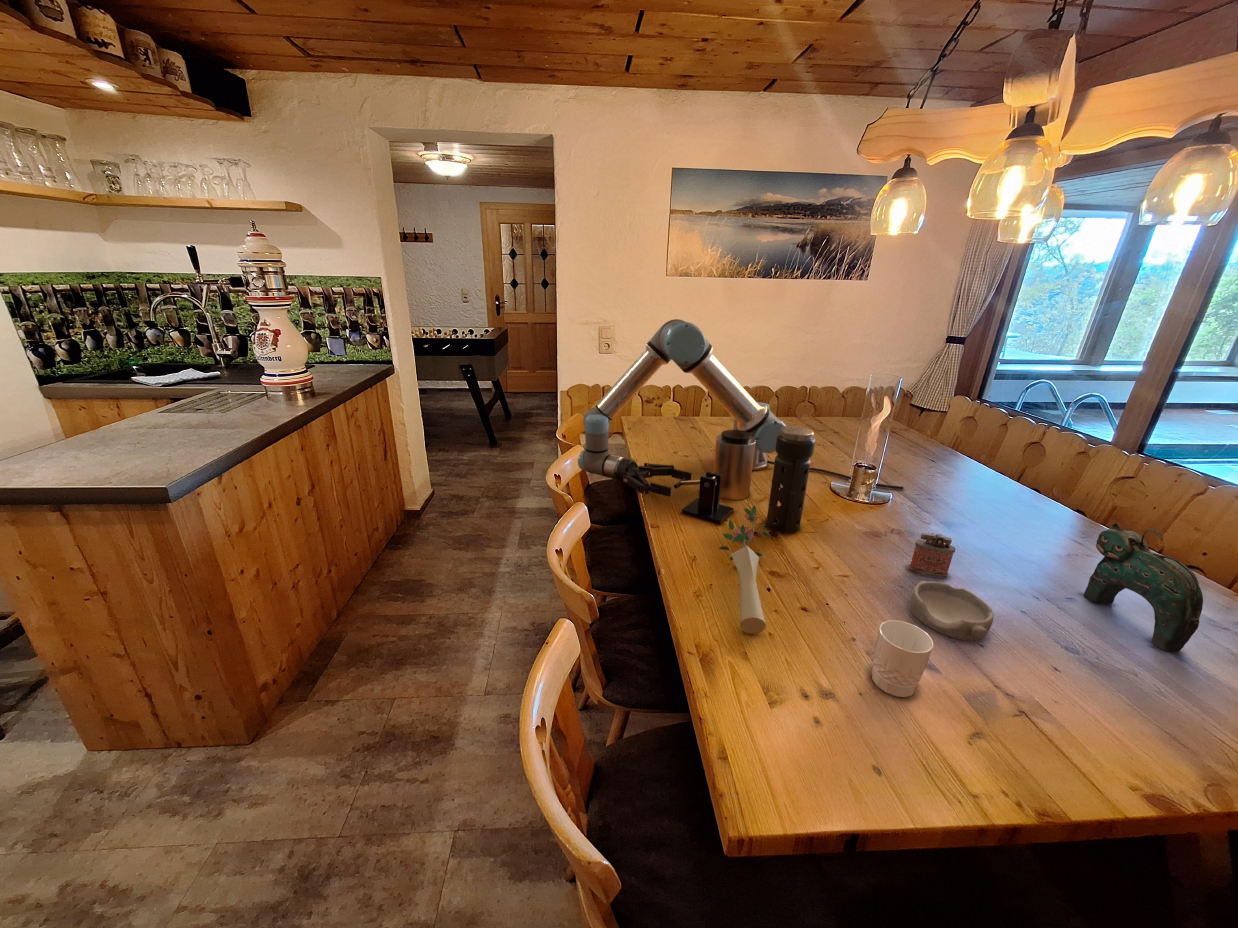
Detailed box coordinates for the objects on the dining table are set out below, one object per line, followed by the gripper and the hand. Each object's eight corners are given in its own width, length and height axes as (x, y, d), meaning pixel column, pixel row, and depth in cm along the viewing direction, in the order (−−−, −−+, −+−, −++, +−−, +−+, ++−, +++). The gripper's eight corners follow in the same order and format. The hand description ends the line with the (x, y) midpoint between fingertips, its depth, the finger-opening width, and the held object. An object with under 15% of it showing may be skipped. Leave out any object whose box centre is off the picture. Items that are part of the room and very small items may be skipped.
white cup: (858, 666, 88) (869, 620, 84) (900, 664, 88) (913, 618, 85) (884, 701, 80) (898, 653, 77) (929, 699, 81) (945, 651, 77)
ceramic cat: (1071, 590, 110) (1105, 510, 103) (1100, 591, 110) (1136, 511, 103) (1159, 653, 92) (1207, 562, 85) (1194, 655, 92) (1246, 564, 84)
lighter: (945, 571, 116) (956, 535, 113) (949, 579, 113) (960, 542, 110) (907, 565, 119) (917, 529, 115) (910, 572, 116) (920, 535, 112)
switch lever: (674, 490, 144) (672, 482, 144) (683, 484, 149) (681, 476, 148) (711, 488, 137) (709, 480, 136) (719, 481, 142) (718, 474, 141)
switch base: (681, 513, 143) (684, 476, 138) (696, 501, 150) (699, 466, 146) (720, 525, 137) (724, 486, 132) (733, 511, 144) (737, 475, 140)
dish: (990, 653, 91) (998, 631, 89) (905, 626, 98) (911, 605, 96) (985, 611, 103) (992, 591, 101) (910, 589, 109) (915, 570, 108)
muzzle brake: (805, 536, 131) (796, 518, 141) (822, 437, 121) (811, 425, 131) (769, 534, 132) (762, 516, 142) (783, 435, 122) (774, 424, 131)
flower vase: (729, 655, 100) (722, 539, 129) (792, 650, 96) (770, 531, 125) (717, 617, 94) (712, 504, 123) (783, 611, 91) (762, 496, 119)
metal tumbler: (705, 493, 156) (710, 435, 149) (719, 481, 165) (725, 426, 158) (741, 503, 150) (748, 442, 143) (754, 490, 159) (761, 432, 152)
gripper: (641, 468, 168) (697, 482, 157) (598, 493, 148) (660, 511, 137) (641, 447, 165) (699, 460, 154) (598, 470, 145) (661, 486, 135)
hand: (681, 484), depth 146 cm, fingers open, 13 cm apart
